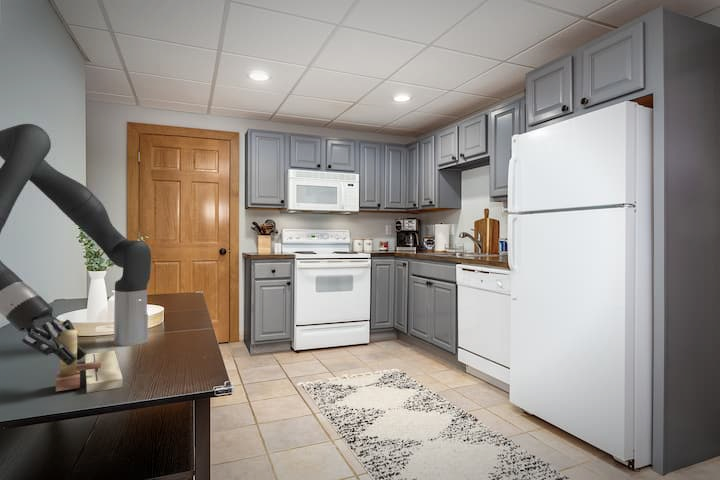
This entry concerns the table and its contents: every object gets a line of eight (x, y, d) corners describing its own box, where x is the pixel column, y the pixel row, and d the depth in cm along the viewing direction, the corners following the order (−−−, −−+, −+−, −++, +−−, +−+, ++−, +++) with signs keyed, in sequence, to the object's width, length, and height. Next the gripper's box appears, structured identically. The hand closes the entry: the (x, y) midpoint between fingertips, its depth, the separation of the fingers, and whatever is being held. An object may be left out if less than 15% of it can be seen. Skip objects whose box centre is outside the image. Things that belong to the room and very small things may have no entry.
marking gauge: (99, 376, 102) (100, 325, 102) (100, 384, 97) (101, 331, 97) (57, 382, 97) (57, 329, 97) (55, 391, 92) (56, 335, 92)
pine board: (114, 357, 119) (114, 350, 119) (122, 387, 97) (122, 378, 97) (85, 361, 115) (85, 354, 115) (86, 392, 93) (86, 383, 93)
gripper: (11, 300, 88) (71, 357, 89) (55, 290, 102) (106, 340, 103) (-16, 324, 88) (45, 382, 89) (32, 311, 102) (83, 361, 103)
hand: (77, 359), depth 96 cm, fingers closed on marking gauge, 3 cm apart
